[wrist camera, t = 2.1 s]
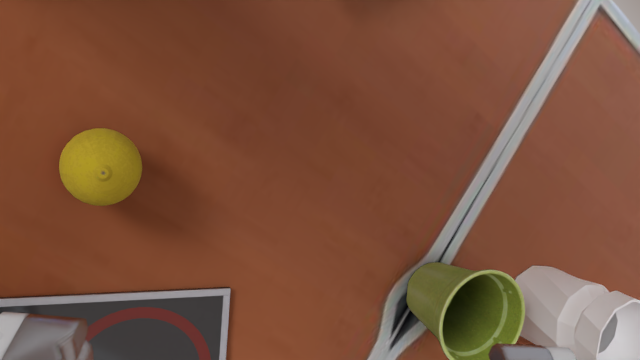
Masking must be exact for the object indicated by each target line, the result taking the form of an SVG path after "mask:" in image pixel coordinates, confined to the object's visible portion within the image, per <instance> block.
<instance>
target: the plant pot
mask: <svg viewBox="0 0 640 360" xmlns="http://www.w3.org/2000/svg"><path fill="white" fill-rule="evenodd" d="M406 301H407V304H408V307H409V309H410V310H411V312H412V313H413V314H414V315H415V316H416V317H417V318H418V319H419V320H420V321H421V322H422V323H423V324H424V325H425V326H426V327H427V328H428V329H429V330H430V331H431V332H432V333H433V334H434V335H435V336H436V337H437V338H438V340H439V342H440V345H441V348H442V350H443V352H444V354H445V355H446V356H447V357H448V359H449V360H490V359H489V355H488V354H489V352H490V350H491V347H492V346H493V345H495V344H496V343H502V344H516V342H517V340H518V338H519V336H520V333H521V330H522V328H523V323H524V318H525V302H524V297H523V294H522V291H521V289H520V287H519V285H518V284H517V282H516V281H515V280H514V279H513V278H512V277H511V276H509V275H508V274H506V273H504V272H501V271H497V270H481V271H472V270H468V269H464V268H460V267H456V266H452V265H448V264H444V263H439V262H435V263H427V264H425V265H423V266H421V267H420V268H419V269H417V270H416V271H415V272H414V274H413V275H412V277H411V278H410V280H409V282H408V290H407V298H406Z"/></svg>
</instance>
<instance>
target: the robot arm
mask: <svg viewBox="0 0 640 360" xmlns="http://www.w3.org/2000/svg"><path fill="white" fill-rule="evenodd" d="M88 331H89V328H88V325H87V321H86V319H84V318H74V317H62V316H51V315H40V314H28V313H14V312H2V313H1V314H0V360H93V349H92V345H91V344H90V343H89V342H88V341H87V340H85V338H86V336H87V333H88ZM488 355H489V359H490V360H577V359H576V357H575V355H574V353H573V351H572V350H570V349H569V348H566V347H550V346H541V345H523V344H502V343H496V344H495V345H493V346H492V347H491V350H490V352H489V354H488Z"/></svg>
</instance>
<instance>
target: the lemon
mask: <svg viewBox="0 0 640 360" xmlns="http://www.w3.org/2000/svg"><path fill="white" fill-rule="evenodd" d="M59 172H60V176H61V180H62V182H63V184H64V185H65V187H66V189H67V190H68V191H69V192H70V193H71V194H72V195H73V196H74V197H75V198H77V199H79V200H80V201H82V202H84V203H88V204H91V205H99V206H105V205H111V204H115V203H117V202H120V201H122V200H124V199H125V198H126V197H128V196H129V195H130V194H131V193H132V192H133V191H134V189H135V188H136V187H137V185H138V183H139V181H140V178H141V173H142V161H141V157H140V154H139V152H138V149H137V148H136V147H135V145H134V144H133V142H132V141H131V140H129V139H128V138H127V137H126V136H125V135H123V134H121V133H119V132H117V131H114V130H110V129H106V128H94V129H90V130H86V131H83V132H82V133H80V134H78V135H76V136H75V137H73V138H72V139H71V140H70V141H69V142H68V143H67V145H66V146H65V148H64V149H63V151H62V154H61V157H60V160H59Z"/></svg>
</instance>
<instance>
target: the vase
mask: <svg viewBox="0 0 640 360" xmlns="http://www.w3.org/2000/svg"><path fill="white" fill-rule="evenodd" d="M515 281H516V282H517V284H518V285H519V287H520V289H521V291H522V294H523V297H524V302H525V318H524V323H523V328H522V330H521V333H520V336H522V337H523V338H525V339H527V340H528V341H530V342H532V343H534V344H535V345H541V346H550V347H566V348H569V349H570V350H572V351H573V353H574V355H575V357H576V359H577V360H640V300H637V299H635V298H632V297H630V296H628V295H625V294H623V293H621V292H619V291H613V292H609V291H608V290H607V289H606V288H605V287H604V286H603V285H601V284H597V283H594V282H589V281H586V280H582V279H579V278H576V277H574V276H572V275H569V274H567V273H565V272H563V271H561V270H559V269H556V268H553V267H549V266H531V267H530V268H528V269H527V270H526V271H524V272H523V273H521V274H520V275H518V276H517V278H516V279H515Z"/></svg>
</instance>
